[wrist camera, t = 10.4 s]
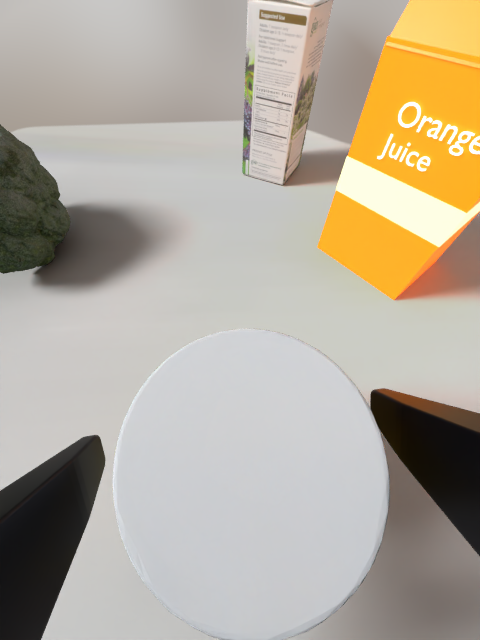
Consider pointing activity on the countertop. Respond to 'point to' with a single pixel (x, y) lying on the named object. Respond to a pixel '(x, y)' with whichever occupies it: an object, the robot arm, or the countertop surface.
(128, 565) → the countertop surface
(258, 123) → the syrup box
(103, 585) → the countertop surface
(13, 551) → the robot arm
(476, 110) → the orange juice
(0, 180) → the vegetable
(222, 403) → the pill bottle
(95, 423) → the countertop surface
